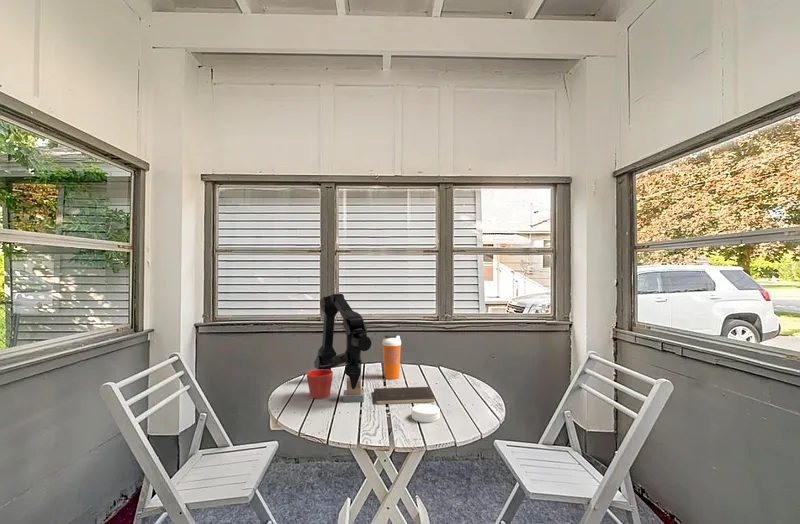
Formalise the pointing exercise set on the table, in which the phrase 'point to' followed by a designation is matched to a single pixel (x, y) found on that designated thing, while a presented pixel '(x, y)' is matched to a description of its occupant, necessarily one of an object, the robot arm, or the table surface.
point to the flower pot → (319, 383)
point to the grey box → (353, 397)
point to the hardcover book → (403, 395)
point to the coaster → (425, 413)
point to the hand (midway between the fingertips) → (353, 385)
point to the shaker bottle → (391, 356)
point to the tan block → (357, 389)
